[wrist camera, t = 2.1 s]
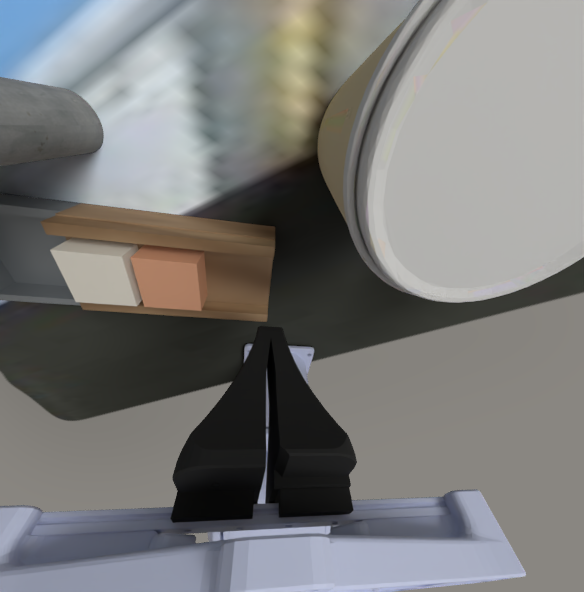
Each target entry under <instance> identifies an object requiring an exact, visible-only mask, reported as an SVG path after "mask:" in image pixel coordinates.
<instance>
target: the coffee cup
mask: <svg viewBox="0 0 584 592" xmlns="http://www.w3.org/2000/svg"><path fill="white" fill-rule="evenodd" d="M318 161H319V165H320V169H321V172H322V175H323V178H324V180H325V182H326V184H327V186H328V188H329V190H330V192H331V194H332V196H333V198H334V200H335V202H336V204H337V206H338V208H339V210H340V212H341V213H342V215H343V217H344V219H345V221H346V223H347V225H348V228H349V232H350V235H351V237H352V240H353V242H354V244H355V246H356V249H357V251H358V252H359V254H360V256H361V257H362V259H363V261H364V262H365V263H366V264H367V266H368V267H369V268H370V269H371V270H372V271H373V272H374V273H375V274H376V275H377V276H378V277H379V278H380V279H381V280H383V281H384V282H386V283H387V284H389V285H390V286H392V287H394V288H396V289H398V290H400V291H402V292H405V293H408V294H411V295H415V296H418V297H421V298H423V299H428V300H433V301H439V302H454V303H461V302H471V301H479V300H485V299H490V298H494V297H498V296H502V295H505V294H509V293H512V292H515V291H517V290H520V289H523V288H525V287H528V286H530V285H532V284H535V283H537V282H539V281H541V280H543V279H546V278H548V277H550V276H552V275H554V274H556V273H557V272H559V271H561V270H563V269H564V268H566V267H568V266H570V265H571V264H573V263H575V262H576V261H578V260H580V259H581V258H583V257H584V0H419V1H418V3H417V4H416V5H415V6H414V8H413V9H412V11H411V12H410V13H409V15H408V16H407V18H406V19H405V20H404V21H403V22H402V23H401V24H400V25H399V26H398V27H397V28H396V29H395V30H394V31H393V32H392V33H391V34H390V35H389V36H388V37H387V38H386V39H385V40H384V41H383V42H382V43H381V45H380V46H379V47H378V48H377V49H376V50H375V51H374V52H373V53H372V54H371V55H370V56H369V57H368V58H367V59H366V60H365V62H364V63H363V64H362V65H361V66H360V67H359V68H358V69H357V70H356V71H355V72H354V73H353V74H352V75H351V76H350V77H349V79H348V80H347V81H346V82H345V83H344V84H343V86H342V87H341V88H340V89H339V90H338V92H337V93H336V95H335V96H334V98H333V99H332V101H331V102H330V104H329V106H328V108H327V110H326V112H325V115H324V117H323V120H322V123H321V126H320V130H319V136H318Z"/></svg>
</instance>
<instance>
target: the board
mask: <svg viewBox="0 0 584 592" xmlns="http://www.w3.org/2000/svg"><path fill="white" fill-rule="evenodd" d="M40 222H41V224H42V226H43V228H44V230H45V233H46V234H47V235H57V236H65V238H66V240H69V239H71V238H72V237H76V238H85V239H95V240H105V241H114V242H124V243H134V244H137V246H138V250H139V249H140V248H141V247H143V246H144V245H153V246H163V247H172V248H182V249H192V250H201V251H204V256H205V269H206V281H207V294H208V296H207V298H206V301H205V303H204V306H203V308H202V311H196V310H182V309H167V308H153V307H144V304H143V300H142V301H141V302H140V303H139V305H138V306H124V305H110V304H96V303H82V302H80V305H81V307H82V309H83V310H95V311H111V312H126V313H141V314H156V315H171V316H186V317H201V318H216V319H231V320H246V321H261V322H267V315H268V300H269V291H270V282H271V273H272V263H273V258H274V252H275V227H272V226H264V225H256V224H248V223H240V222H231V221H223V220H215V219H207V218H198V217H190V216H182V215H174V214H166V213H157V212H149V211H141V210H133V209H125V208H116V207H108V206H100V205H92V204H83V203H81V204H78V205H76V206H73V207H71V208H68V209H66V210H63V211H61V212H58V213H55V216H53V217H50V218H48V219H45V220H43V221H40Z"/></svg>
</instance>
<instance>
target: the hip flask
mask: <svg viewBox="0 0 584 592" xmlns="http://www.w3.org/2000/svg"><path fill="white" fill-rule="evenodd" d="M102 143H103V129H102V125H101V123H100V120H99V118H98V116H97V114H96V113H95V111H94V110H93V109H92V107H91V106H90V105H89V104H88V103H87V102H86V101H85V100H84V99H83V98H81V97H80V96H79V95H77V94H76V93H74V92H72V91H70V90H67V89H63V88H58V87H53V86H47V85H42V84H36V83H30V82H25V81H19V80H14V79H8V78H3V77H0V166H6V165H13V164H19V163H26V162H33V161H40V160H47V159H54V158H60V157H67V156H74V155H81V154H88V153H92V152H95V151H97V150H98V149H99V148H100V147H101V145H102Z"/></svg>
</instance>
